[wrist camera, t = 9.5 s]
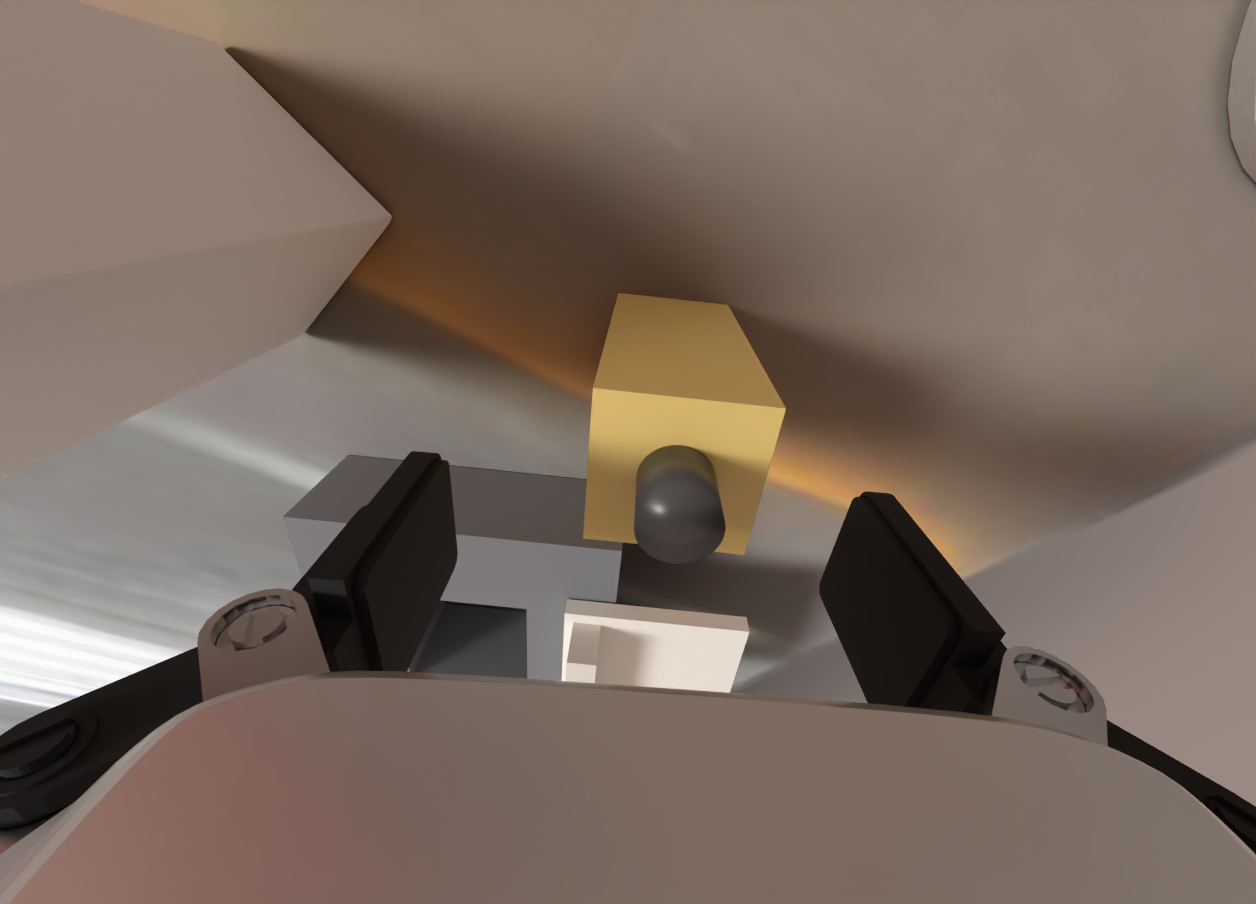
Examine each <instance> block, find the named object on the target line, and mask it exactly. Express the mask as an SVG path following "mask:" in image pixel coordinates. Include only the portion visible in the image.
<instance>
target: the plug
mask: <svg viewBox="0 0 1256 904" xmlns="http://www.w3.org/2000/svg"><path fill="white" fill-rule="evenodd" d="M785 411H786V408H785V406H784V404H783V402H782V400H781V399H780V397H779V395H778V393H777V392H776V390H775V388H774V386H773V384H772V383H771V381H770V379H769V377H768V375H767V374H766V372H765V370H764V368H763V367H762V365H761V363H760V361H759V359H758V358H757V356H756V354H755V352H754V351H753V349H752V347H751V345H750V343H749V342H748V340H747V338H746V336H745V335H744V333H743V331H742V329H741V327H740V326H739V324H738V322H737V320H736V318H735V317H734V315H733V313H732V311H731V310H730V308H729V306H728V305H725V304H716V303H707V302H698V301H689V300H679V299H670V298H661V297H652V296H643V295H633V294H624V293H618V296H617V300H616V303H615V307H614V311H613V315H612V318H611V322H610V326H609V329H608V333H607V337H606V341H605V344H604V348H603V352H602V356H601V359H600V363H599V367H598V371H597V374H596V378H595V382H594V385H593V393H592V408H591V424H590V439H589V454H588V470H587V485H586V501H585V516H584V532H583V538H585V539H595V540H604V541H614V542H624V543H634V544H639V546H640V547H641V548H642V549H643V550H644V551H645V552H646V553H647V554H648V555H650V556H651V557H653V558H655V559H657V560H660V561H663V562H667V563H674V564H684V563H691V562H695V561H698V560H700V559H703V558H705V557H707V556H708V555H710V554H711V553H712V552H722V553H731V554H741V555H744V554H745V550H746V547H747V543H748V540H749V536H750V533H751V529H752V526H753V522H754V519H755V515H756V512H757V508H758V505H759V501H760V498H761V494H762V491H763V487H764V484H765V480H766V477H767V473H768V470H769V466H770V463H771V459H772V456H773V453H774V449H775V446H776V442H777V439H778V435H779V432H780V428H781V425H782V421H783V418H784V414H785Z"/></svg>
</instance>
